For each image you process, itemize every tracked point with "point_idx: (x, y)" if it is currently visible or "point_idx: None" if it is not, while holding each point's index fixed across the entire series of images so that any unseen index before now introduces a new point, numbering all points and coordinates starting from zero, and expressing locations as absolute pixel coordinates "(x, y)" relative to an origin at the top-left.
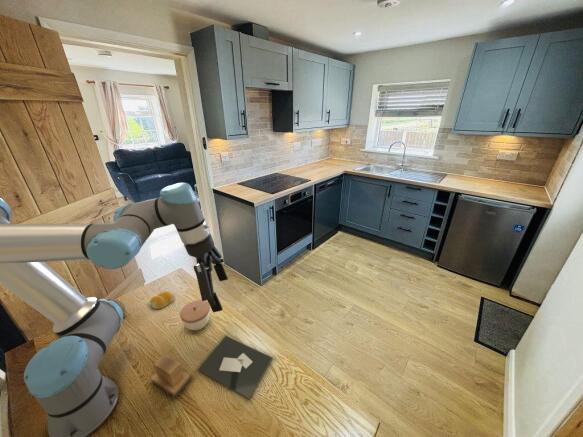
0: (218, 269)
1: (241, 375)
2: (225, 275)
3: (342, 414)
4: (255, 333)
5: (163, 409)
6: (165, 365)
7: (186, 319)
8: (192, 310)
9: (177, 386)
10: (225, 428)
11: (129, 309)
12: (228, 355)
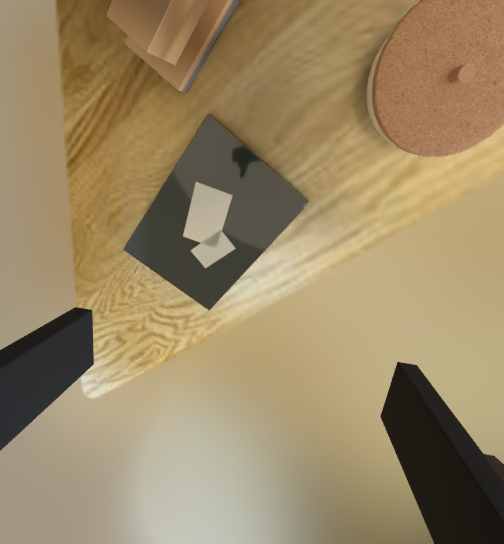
0: (458, 513)
1: (174, 238)
2: (397, 453)
3: (102, 377)
4: (295, 283)
5: None
6: None
7: (398, 34)
8: (453, 61)
9: (143, 50)
10: (73, 194)
11: None
12: (236, 208)
